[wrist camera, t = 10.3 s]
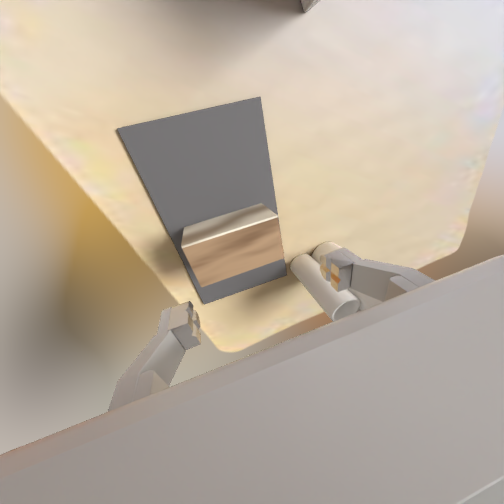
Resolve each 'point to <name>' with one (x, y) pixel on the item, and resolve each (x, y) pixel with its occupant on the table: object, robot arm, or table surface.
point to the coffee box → (308, 4)
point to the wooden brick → (232, 243)
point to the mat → (207, 176)
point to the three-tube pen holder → (328, 285)
